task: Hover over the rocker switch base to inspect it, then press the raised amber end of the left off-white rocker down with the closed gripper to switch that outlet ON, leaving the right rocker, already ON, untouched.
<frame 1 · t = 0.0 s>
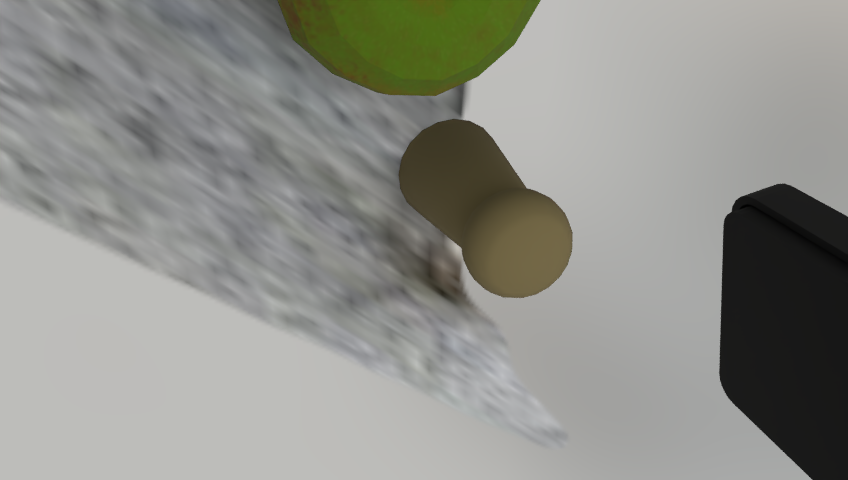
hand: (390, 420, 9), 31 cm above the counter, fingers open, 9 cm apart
brown pepper mill: (448, 168, 44), on the counter
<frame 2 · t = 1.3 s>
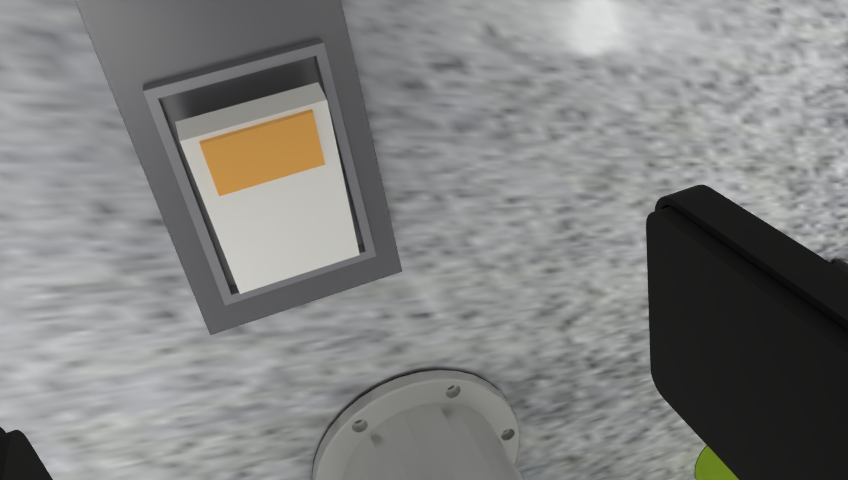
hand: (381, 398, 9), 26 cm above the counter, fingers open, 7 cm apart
soap dispenser: (721, 457, 56), on the counter
rocker A: (277, 196, 30), point 6 cm above the counter, hinge at -15.0°
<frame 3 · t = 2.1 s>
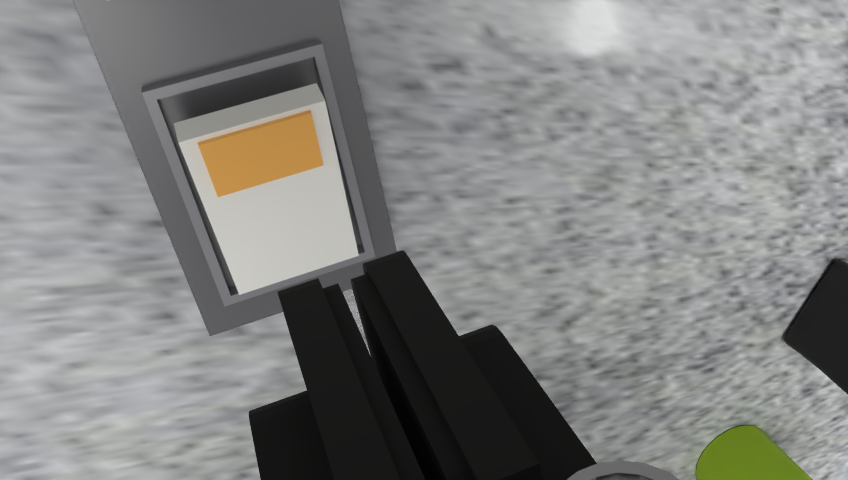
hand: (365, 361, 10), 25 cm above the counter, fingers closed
rocker switch base: (210, 1, 31), on the counter
battery charger: (821, 302, 52), on the counter
soap dispenser: (722, 457, 56), on the counter
rocker A: (275, 197, 30), point 6 cm above the counter, hinge at -15.0°
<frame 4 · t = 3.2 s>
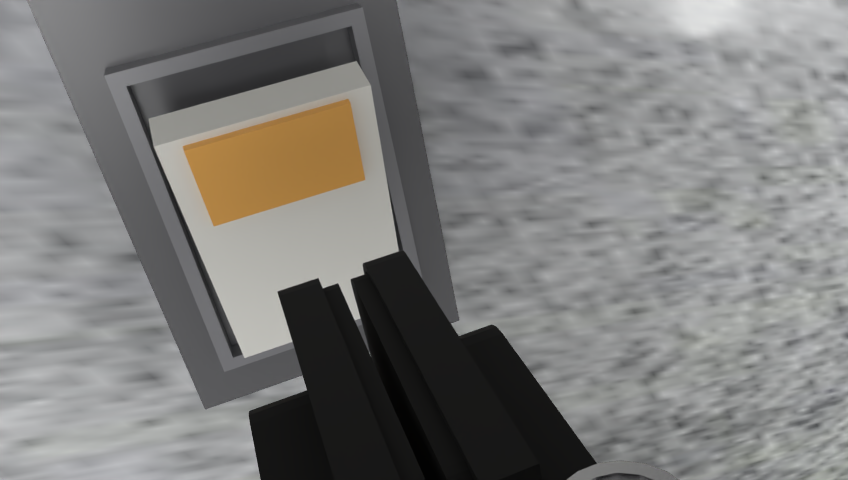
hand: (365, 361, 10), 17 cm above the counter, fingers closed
rocker A: (296, 225, 21), point 6 cm above the counter, hinge at -15.0°
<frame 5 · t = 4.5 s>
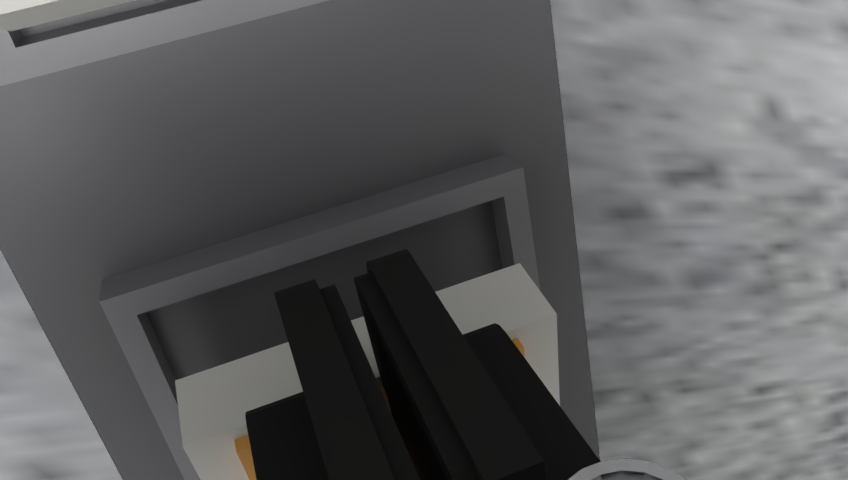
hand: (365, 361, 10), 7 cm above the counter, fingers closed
rocker switch base: (258, 66, 15), on the counter
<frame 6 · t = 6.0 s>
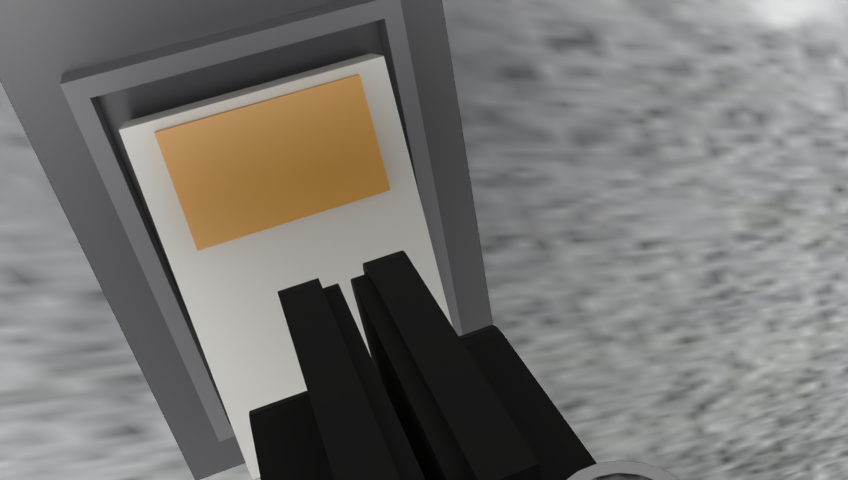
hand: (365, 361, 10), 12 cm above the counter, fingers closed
rocker A: (311, 271, 17), point 6 cm above the counter, hinge at 12.7°
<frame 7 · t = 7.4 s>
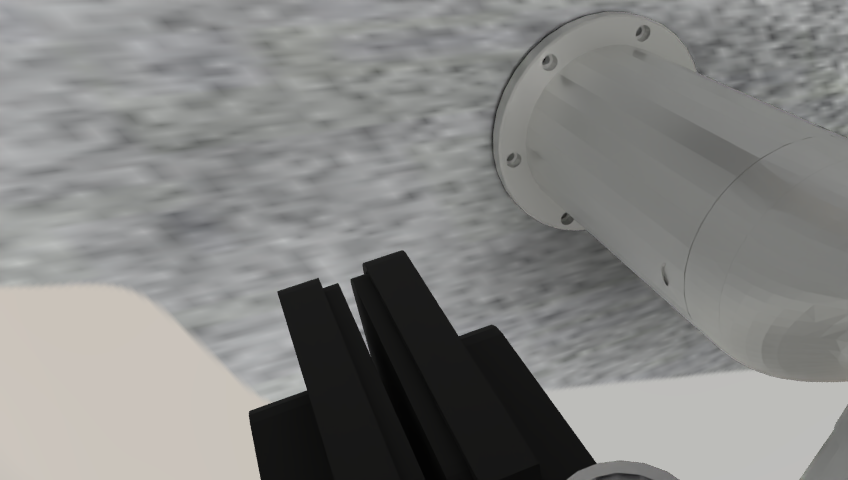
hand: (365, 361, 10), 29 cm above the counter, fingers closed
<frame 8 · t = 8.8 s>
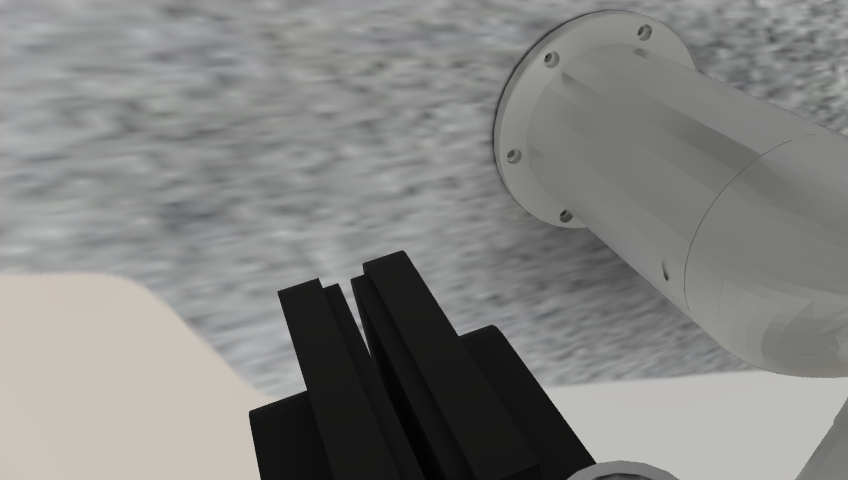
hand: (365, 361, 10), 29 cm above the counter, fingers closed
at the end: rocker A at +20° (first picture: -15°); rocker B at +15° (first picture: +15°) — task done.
